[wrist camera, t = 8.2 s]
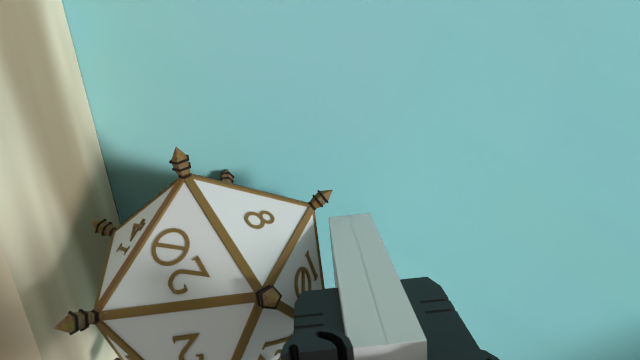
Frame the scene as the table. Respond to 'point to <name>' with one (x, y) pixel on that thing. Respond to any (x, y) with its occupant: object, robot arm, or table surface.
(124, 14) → the table surface
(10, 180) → the birch board
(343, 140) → the table surface
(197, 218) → the game die
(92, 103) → the table surface
